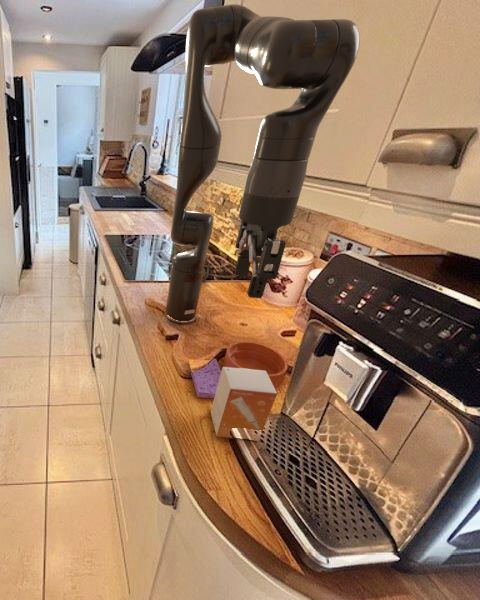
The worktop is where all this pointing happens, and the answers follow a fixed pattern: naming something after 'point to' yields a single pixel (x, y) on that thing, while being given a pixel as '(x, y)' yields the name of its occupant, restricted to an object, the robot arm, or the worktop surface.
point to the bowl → (257, 360)
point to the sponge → (207, 379)
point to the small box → (242, 400)
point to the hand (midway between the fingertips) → (246, 285)
